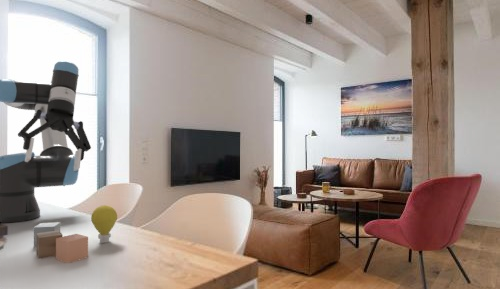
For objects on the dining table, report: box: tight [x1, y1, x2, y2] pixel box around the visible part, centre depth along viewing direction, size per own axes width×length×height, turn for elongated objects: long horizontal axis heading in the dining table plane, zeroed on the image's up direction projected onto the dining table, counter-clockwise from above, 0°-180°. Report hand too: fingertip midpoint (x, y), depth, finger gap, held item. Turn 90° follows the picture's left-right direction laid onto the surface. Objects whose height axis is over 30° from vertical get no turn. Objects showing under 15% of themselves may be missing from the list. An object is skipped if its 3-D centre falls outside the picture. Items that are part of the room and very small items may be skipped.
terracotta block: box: [55, 233, 89, 264], centre depth 83 cm, size 5×5×5 cm
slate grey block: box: [33, 221, 61, 247], centre depth 96 cm, size 5×5×5 cm
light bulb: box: [90, 204, 118, 244], centre depth 97 cm, size 7×7×10 cm
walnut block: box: [35, 230, 63, 259], centre depth 87 cm, size 5×5×5 cm
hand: (53, 165), depth 104 cm, fingers open, 13 cm apart
